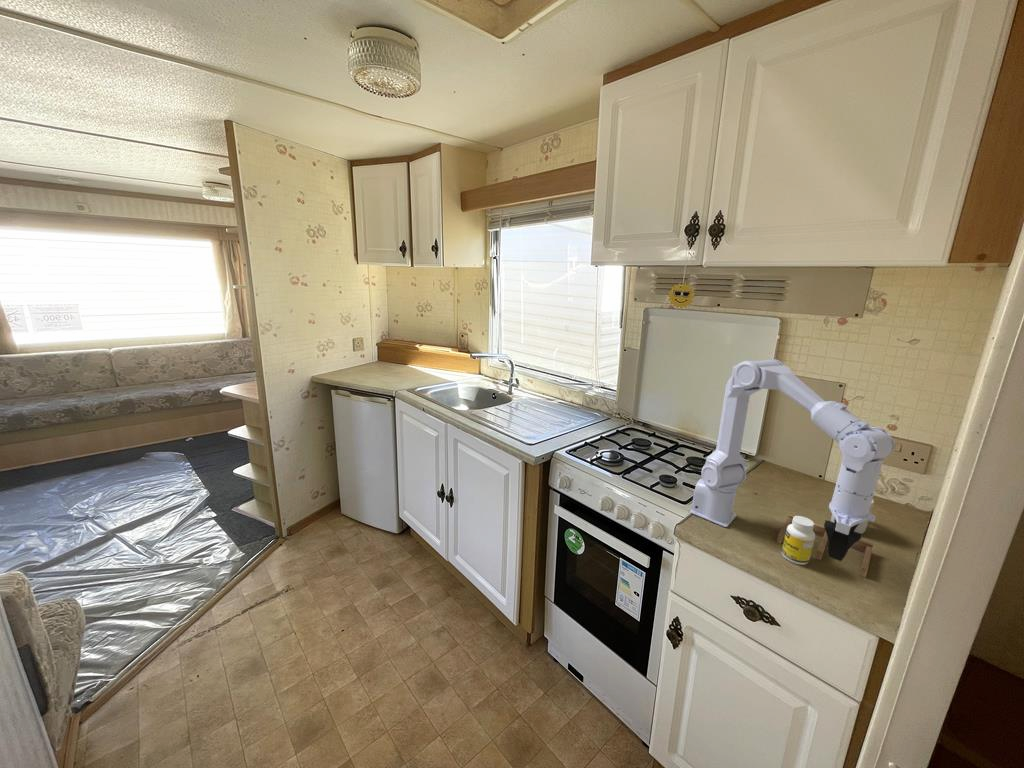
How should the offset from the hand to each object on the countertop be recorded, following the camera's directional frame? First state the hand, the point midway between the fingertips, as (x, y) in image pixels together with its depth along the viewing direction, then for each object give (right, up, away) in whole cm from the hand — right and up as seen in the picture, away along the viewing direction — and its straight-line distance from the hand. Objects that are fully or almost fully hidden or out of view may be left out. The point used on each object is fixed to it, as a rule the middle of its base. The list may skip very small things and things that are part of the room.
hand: (837, 549), depth 84 cm
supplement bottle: (0, -7, +13) cm, 14 cm away
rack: (+9, -6, +16) cm, 20 cm away
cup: (+23, -4, +26) cm, 35 cm away
